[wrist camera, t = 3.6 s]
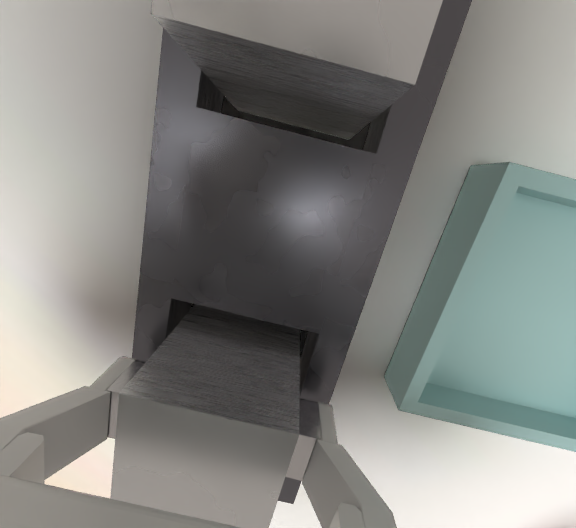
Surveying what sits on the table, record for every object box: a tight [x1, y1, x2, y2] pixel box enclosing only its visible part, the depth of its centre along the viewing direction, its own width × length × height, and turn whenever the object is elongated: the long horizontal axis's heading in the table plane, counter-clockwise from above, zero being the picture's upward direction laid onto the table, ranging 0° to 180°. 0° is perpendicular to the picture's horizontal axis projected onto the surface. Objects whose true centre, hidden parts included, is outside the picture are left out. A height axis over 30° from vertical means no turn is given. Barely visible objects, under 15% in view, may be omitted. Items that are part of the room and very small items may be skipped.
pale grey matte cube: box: [110, 304, 300, 528], centre depth 10 cm, size 4×4×6 cm
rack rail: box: [132, 0, 472, 504], centre depth 11 cm, size 24×8×2 cm, turn 166°
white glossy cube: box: [151, 0, 443, 140], centre depth 7 cm, size 4×4×6 cm
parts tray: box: [384, 162, 576, 452], centre depth 11 cm, size 10×10×2 cm
